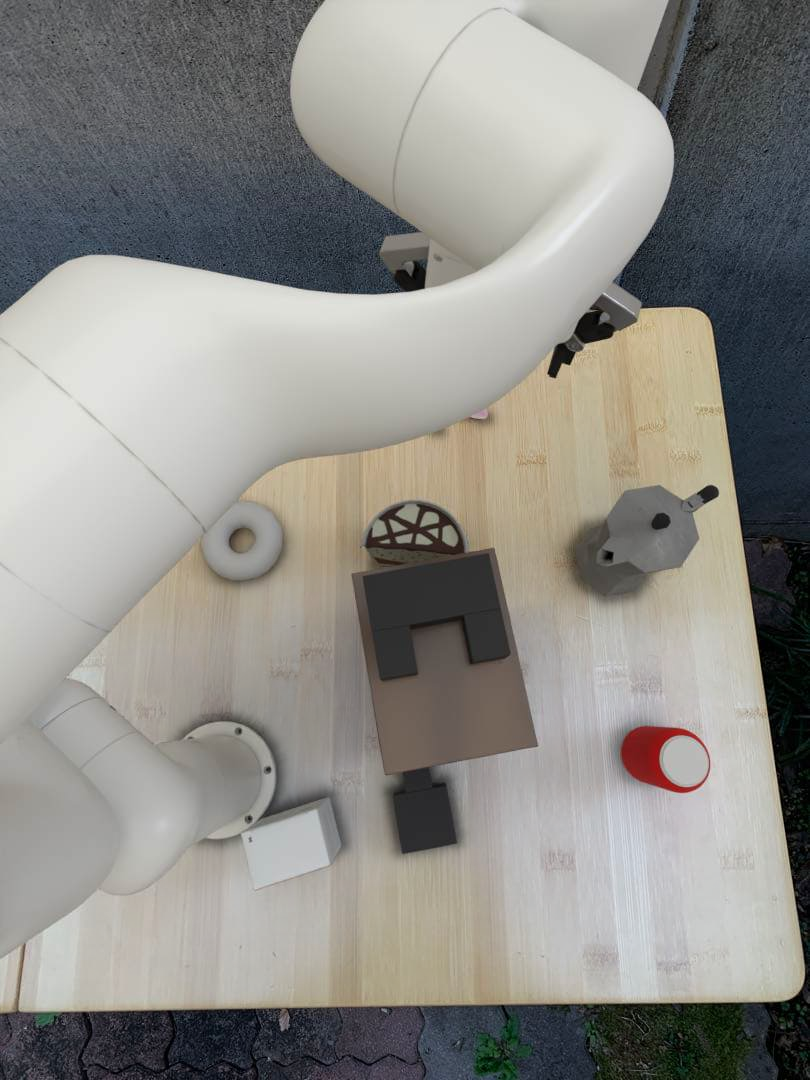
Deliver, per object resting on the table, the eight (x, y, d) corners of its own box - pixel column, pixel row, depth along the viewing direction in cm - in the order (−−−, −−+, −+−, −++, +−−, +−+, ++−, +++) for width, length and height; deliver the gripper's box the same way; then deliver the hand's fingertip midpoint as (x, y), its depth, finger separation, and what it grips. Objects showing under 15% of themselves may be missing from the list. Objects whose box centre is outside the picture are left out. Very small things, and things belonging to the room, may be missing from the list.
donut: (220, 595, 83) (296, 565, 84) (211, 590, 80) (291, 559, 80) (195, 522, 85) (270, 493, 86) (186, 514, 82) (264, 484, 83)
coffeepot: (589, 621, 81) (636, 596, 64) (545, 555, 83) (578, 514, 66) (693, 555, 83) (766, 513, 66) (647, 493, 85) (706, 436, 68)
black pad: (381, 681, 54) (379, 679, 51) (365, 583, 56) (362, 575, 53) (506, 657, 54) (511, 654, 51) (485, 561, 56) (488, 552, 53)
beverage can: (657, 717, 78) (698, 718, 67) (681, 770, 77) (728, 780, 65) (608, 737, 78) (642, 742, 66) (632, 791, 77) (671, 805, 65)
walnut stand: (395, 754, 78) (384, 775, 52) (372, 617, 82) (351, 573, 56) (498, 735, 78) (538, 746, 52) (470, 599, 82) (494, 547, 56)
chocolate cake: (468, 524, 85) (475, 500, 75) (465, 573, 83) (471, 554, 73) (370, 515, 85) (364, 490, 75) (365, 563, 84) (358, 544, 74)
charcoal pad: (402, 848, 76) (402, 854, 73) (388, 765, 78) (387, 767, 75) (455, 838, 76) (457, 843, 73) (440, 755, 78) (441, 757, 75)
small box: (273, 868, 75) (251, 893, 65) (261, 816, 77) (237, 832, 66) (343, 846, 76) (332, 867, 66) (330, 795, 77) (317, 807, 67)
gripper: (351, 189, 35) (371, 357, 52) (681, 271, 34) (593, 418, 50) (394, 78, 37) (400, 275, 54) (710, 152, 36) (616, 331, 52)
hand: (494, 344), depth 52 cm, fingers open, 9 cm apart
